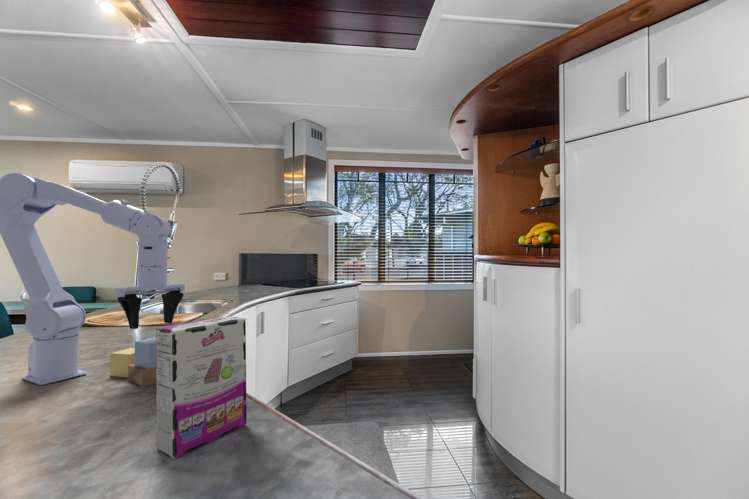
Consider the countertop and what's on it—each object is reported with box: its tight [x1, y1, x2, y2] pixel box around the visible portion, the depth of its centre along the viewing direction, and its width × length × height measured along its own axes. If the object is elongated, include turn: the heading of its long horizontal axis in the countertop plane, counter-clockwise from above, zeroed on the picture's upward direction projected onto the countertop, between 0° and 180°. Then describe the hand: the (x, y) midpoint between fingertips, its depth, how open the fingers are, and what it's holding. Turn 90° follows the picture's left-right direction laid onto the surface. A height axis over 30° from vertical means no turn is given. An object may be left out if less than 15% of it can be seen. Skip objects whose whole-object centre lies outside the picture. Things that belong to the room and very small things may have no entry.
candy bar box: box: [155, 315, 247, 460], centre depth 50 cm, size 11×5×16 cm, turn 148°
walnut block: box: [127, 364, 157, 388], centre depth 74 cm, size 7×7×4 cm
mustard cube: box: [109, 347, 135, 378], centre depth 78 cm, size 5×5×5 cm
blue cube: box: [134, 337, 157, 369], centre depth 74 cm, size 5×5×5 cm
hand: (151, 325), depth 80 cm, fingers open, 7 cm apart
